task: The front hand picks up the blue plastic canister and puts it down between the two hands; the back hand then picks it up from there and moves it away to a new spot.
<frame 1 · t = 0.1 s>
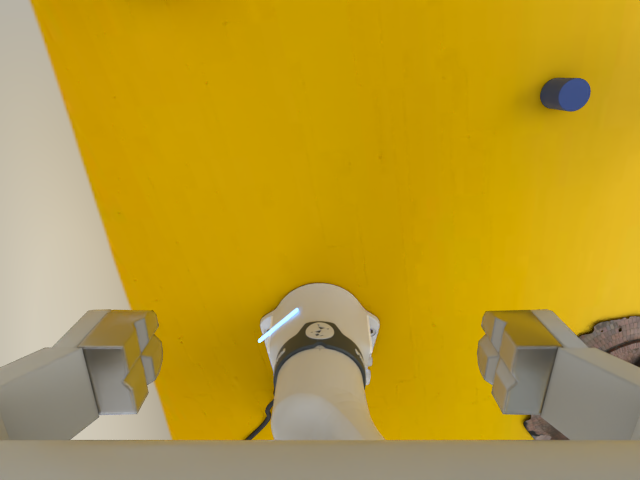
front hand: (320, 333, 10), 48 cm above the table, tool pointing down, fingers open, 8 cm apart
canister: (554, 93, 54), on the table
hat: (624, 387, 71), on the table
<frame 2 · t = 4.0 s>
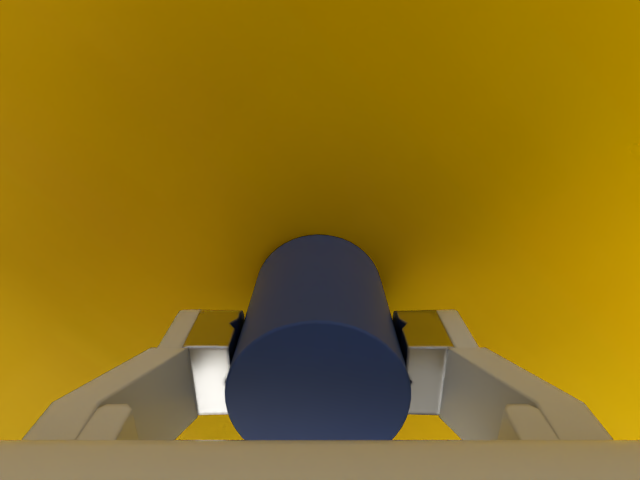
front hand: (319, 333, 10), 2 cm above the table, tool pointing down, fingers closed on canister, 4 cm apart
canister: (318, 292, 12), on the table, touching front hand
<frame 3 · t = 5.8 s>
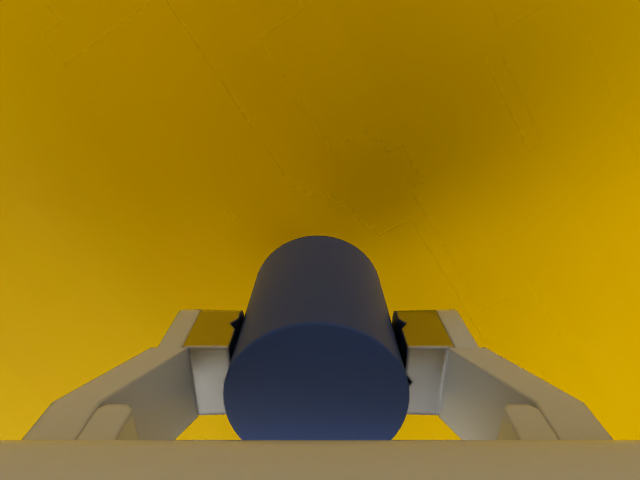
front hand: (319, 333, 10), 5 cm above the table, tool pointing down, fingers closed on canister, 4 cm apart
canister: (317, 293, 12), point 3 cm above the table, touching front hand
when the front hand's fingers open (3 cm above the table, at t = 7.6 s): canister stays where it is, on the table.
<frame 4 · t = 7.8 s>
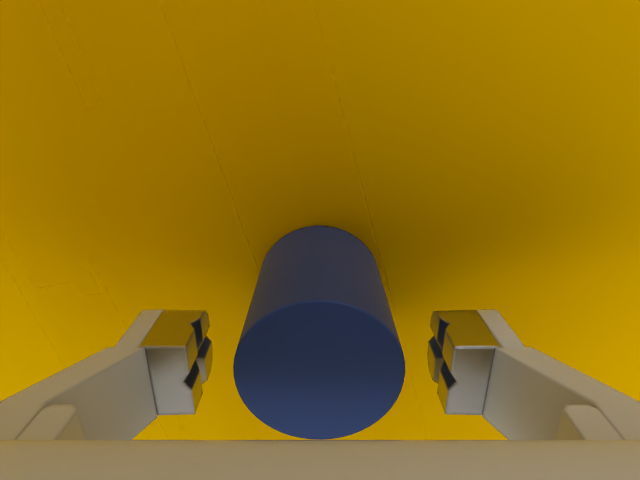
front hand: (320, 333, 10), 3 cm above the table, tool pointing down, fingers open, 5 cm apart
canister: (319, 280, 13), on the table
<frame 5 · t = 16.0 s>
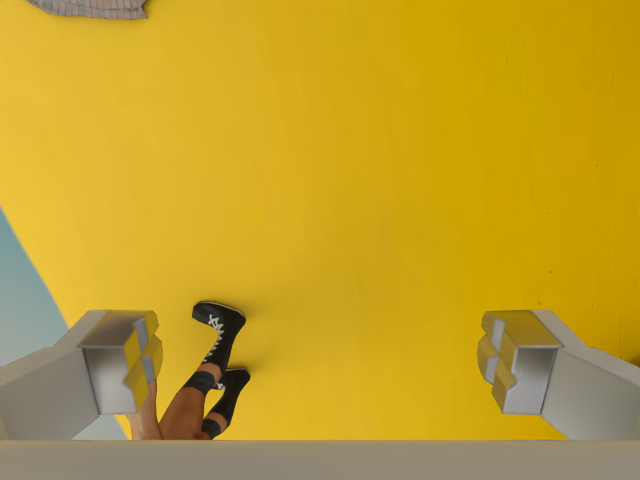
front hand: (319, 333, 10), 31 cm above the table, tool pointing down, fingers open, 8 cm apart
figurine: (222, 344, 48), on the table
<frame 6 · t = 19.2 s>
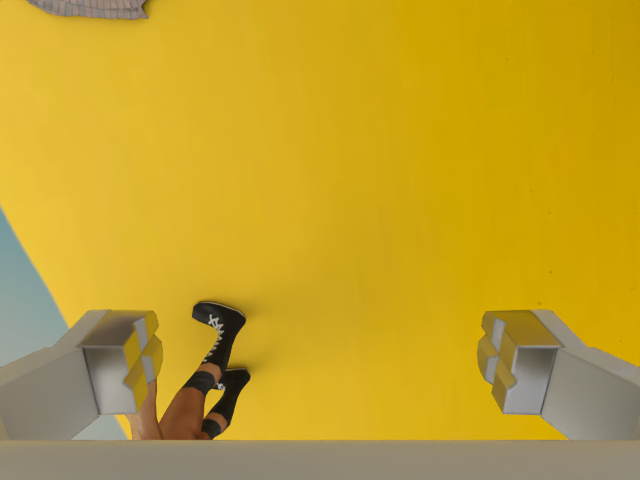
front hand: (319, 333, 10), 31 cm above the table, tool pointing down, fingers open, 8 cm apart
figurine: (222, 344, 48), on the table
when the back hand's fingers open (1 cm above the table, at t = 22.6 s): canister stays where it is, on the table.
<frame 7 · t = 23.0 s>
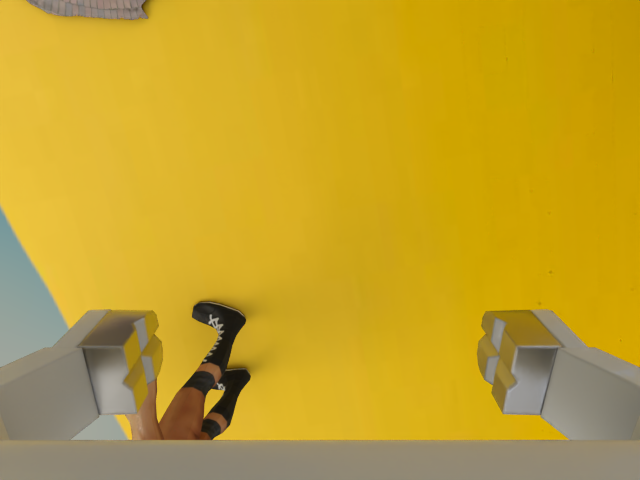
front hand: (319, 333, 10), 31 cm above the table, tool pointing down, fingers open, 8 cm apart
figurine: (222, 344, 48), on the table
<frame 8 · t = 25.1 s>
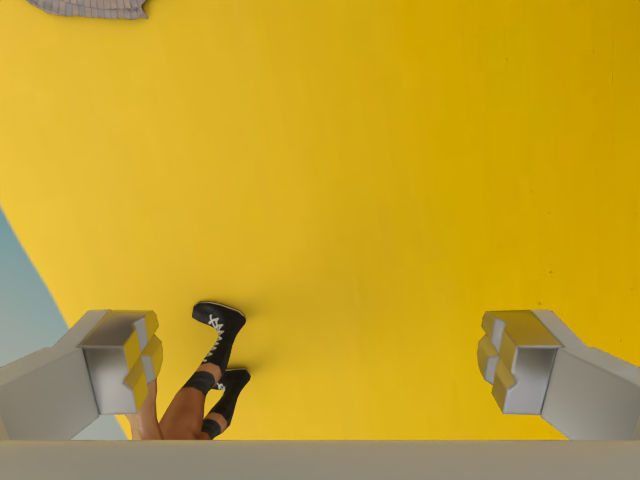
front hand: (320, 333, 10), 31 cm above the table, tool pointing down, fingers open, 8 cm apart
figurine: (222, 344, 48), on the table
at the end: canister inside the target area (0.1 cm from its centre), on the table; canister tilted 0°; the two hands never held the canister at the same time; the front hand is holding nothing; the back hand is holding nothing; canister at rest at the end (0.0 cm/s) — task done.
